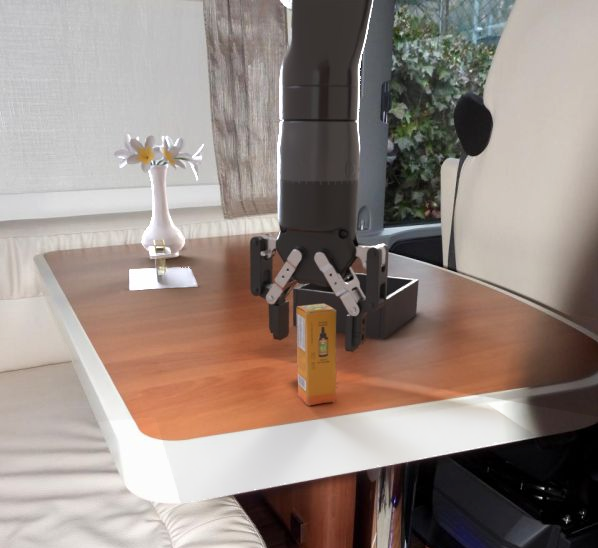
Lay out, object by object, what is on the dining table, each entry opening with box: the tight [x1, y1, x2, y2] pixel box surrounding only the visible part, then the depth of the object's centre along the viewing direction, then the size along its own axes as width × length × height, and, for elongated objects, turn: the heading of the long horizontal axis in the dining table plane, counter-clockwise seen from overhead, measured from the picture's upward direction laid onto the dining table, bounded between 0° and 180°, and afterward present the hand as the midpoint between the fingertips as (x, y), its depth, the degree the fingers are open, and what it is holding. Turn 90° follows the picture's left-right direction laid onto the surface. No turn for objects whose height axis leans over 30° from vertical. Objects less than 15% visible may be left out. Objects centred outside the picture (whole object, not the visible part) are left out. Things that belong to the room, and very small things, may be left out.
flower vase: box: [113, 133, 205, 260], centre depth 137 cm, size 13×18×25 cm
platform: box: [129, 240, 199, 291], centre depth 120 cm, size 12×18×7 cm, turn 14°
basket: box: [292, 272, 420, 340], centre depth 89 cm, size 13×13×7 cm
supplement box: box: [296, 304, 337, 407], centre depth 66 cm, size 3×3×10 cm
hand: (315, 343), depth 65 cm, fingers open, 7 cm apart
